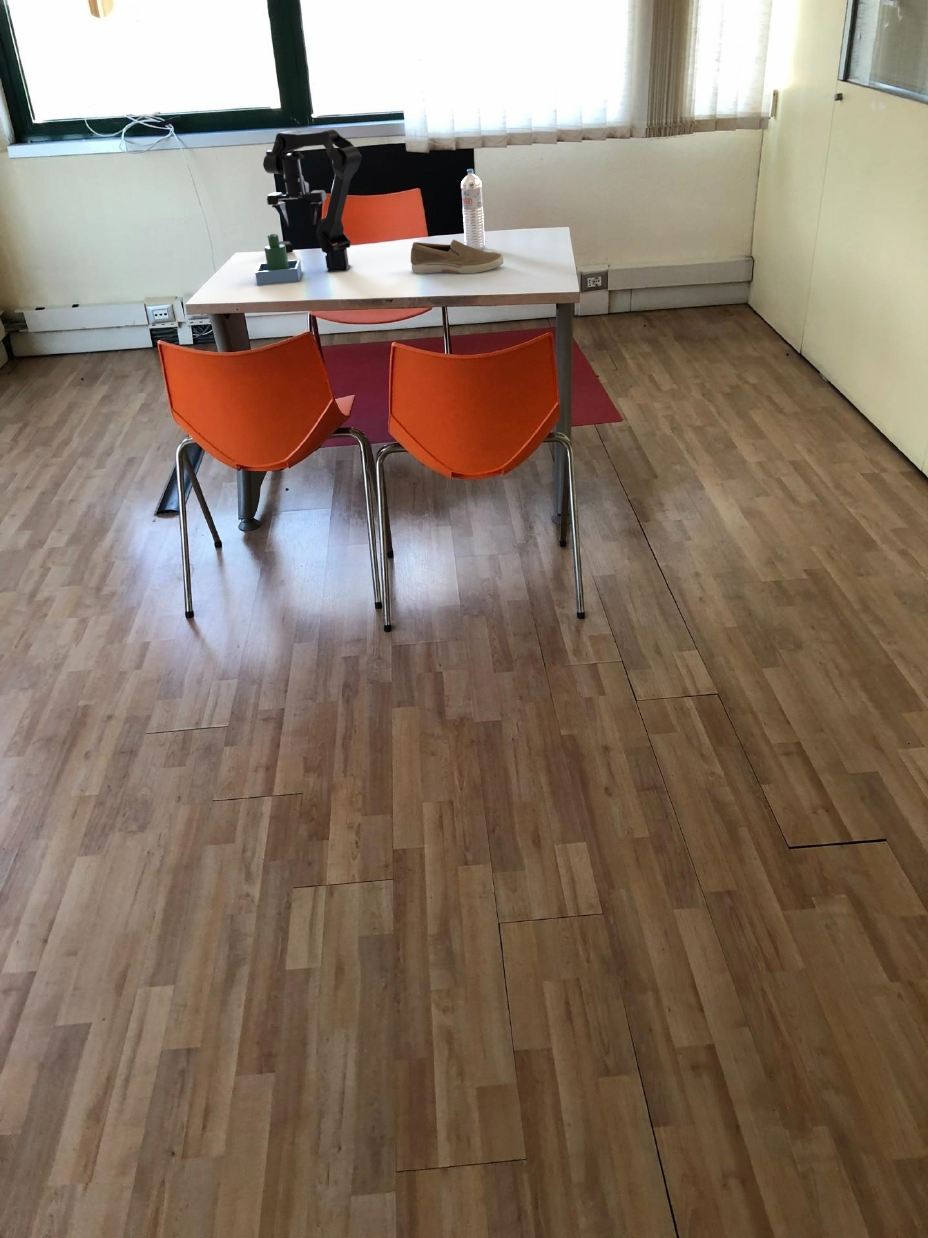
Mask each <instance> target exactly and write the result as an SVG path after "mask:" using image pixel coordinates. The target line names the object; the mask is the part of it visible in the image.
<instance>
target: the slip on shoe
mask: <svg viewBox="0 0 928 1238" xmlns="http://www.w3.org/2000/svg"><path fill="white" fill-rule="evenodd" d="M411 245H412V246H411V248H410V263H411V271H412V273H414V274H419V275H420V274H421V275H424V274H425V275H426V274H434V273H452V274H463V275H464V274H468V275H469V274H476V273H482V272H486V271H489V270H493V269H496V268H498V267H500V266H502V265H503V264H504V263H505V262H504V255H503V254H502V253H500V252H495V251H486V250H483V249H482V250H479V249H476V248H472V247H469V246H467V245H465V243H462V242H460V241H458V240H456V239H452V241H450V244H442V243H428V242H419V241H414V242H412V244H411Z"/></svg>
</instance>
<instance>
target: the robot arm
mask: <svg viewBox="0 0 928 1238" xmlns="http://www.w3.org/2000/svg"><path fill="white" fill-rule="evenodd" d="M316 146H317V147H318V146H323V147H324V149H325V151H326V154H327V157H328V158H329V159H330V160H331V161H332V163H331V164H332V165H331V167H332V170H333V172H334V179H333V183H332V187H331V193H330V197H329V201H328V206H327V211H326V216H325V217H324V218H320V219H318V221H317V214H318V211H319V207H320V205H321V204H322V203H324V201H326V200H328V199H327V193H326V191H325V190H324V189H319V190H317V189H315V190H312V191H310V184H309V182H307V181H305V179H304V175H303V172H302V166H301V160H302V159H304V158H305V156H304V155H303V154H302V153H301V152H300V149H302V148H305V147H316ZM336 147H337V148H338V149H337V148H336ZM361 161H362V155H361V154H360V151H359V149H358V148H357V147H356V146H355V145H354V144H353V143H352V142H351V141H350V140H348V139H347V138H345V137H343V136H342V135H340V134H339V132H338V131H337V130H335V129H327V130H321V131H320V130H319V131H312V132H302V131H300V130H294V129H290V130H286V131H281V132H278V133H276V135H275V140H274V143H273V146H272V150H271V149H269V150H266V151H265V156H264V158H263V162H262V166H263V169H264V171H265V172H266V173H268V174H276V175H277V174H278V175H283V183H284V184H285V190H286V193H285V194H284V193H283V192H281V191H280V192H271V193H270V194H268V195H267V197H266V203H267V206H271V208H274V209H275V210H276V212H277V213H278V214H279V216H280V217H281V219H282V222H284V224H285V226H286V227H289V218H288V214H287V210H286V202H292V201H293V202H294V201H310V202H311V203H309V207H310V208H309V209H310V214H311V222H312V225H313V226H315V225H316V222H317V226H316V229H315V232H316V239H317V242H318V244H319V247H320V248H321V252H322V253H325V254H326V255H325V256H324V257H325V265H326V269H327V270H326V272H330V273H331V272H346V271H348V269H350V268H351V264H349V263H350V262H349V257H348V249H349V248H350V247H351V240H350V239H349V237H348V236H347V235H346V234H345V232H344V230H345V227H344V224H343V221H342V220H343V219H342V218H343V213H344V210H345V206H346V202H347V196H348V193H349V189H350V183H351V180H352V178H353V176H354V175H355V174H356V172H358V169H359V167H360V165H361Z"/></svg>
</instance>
